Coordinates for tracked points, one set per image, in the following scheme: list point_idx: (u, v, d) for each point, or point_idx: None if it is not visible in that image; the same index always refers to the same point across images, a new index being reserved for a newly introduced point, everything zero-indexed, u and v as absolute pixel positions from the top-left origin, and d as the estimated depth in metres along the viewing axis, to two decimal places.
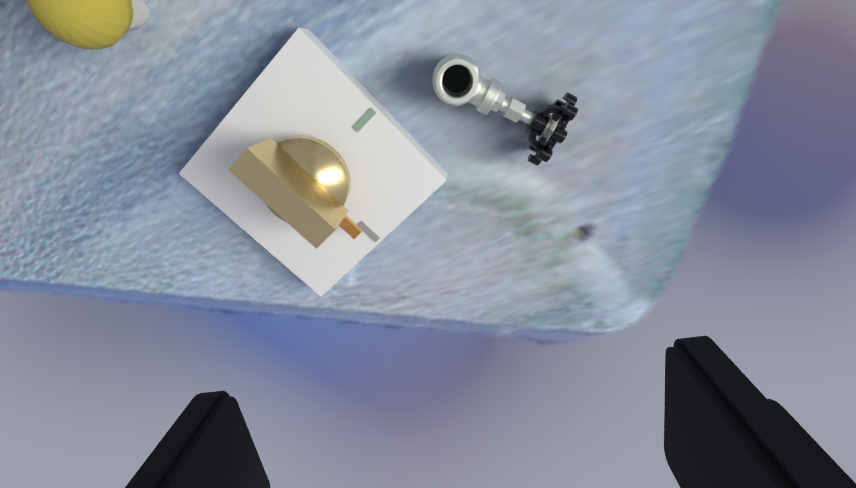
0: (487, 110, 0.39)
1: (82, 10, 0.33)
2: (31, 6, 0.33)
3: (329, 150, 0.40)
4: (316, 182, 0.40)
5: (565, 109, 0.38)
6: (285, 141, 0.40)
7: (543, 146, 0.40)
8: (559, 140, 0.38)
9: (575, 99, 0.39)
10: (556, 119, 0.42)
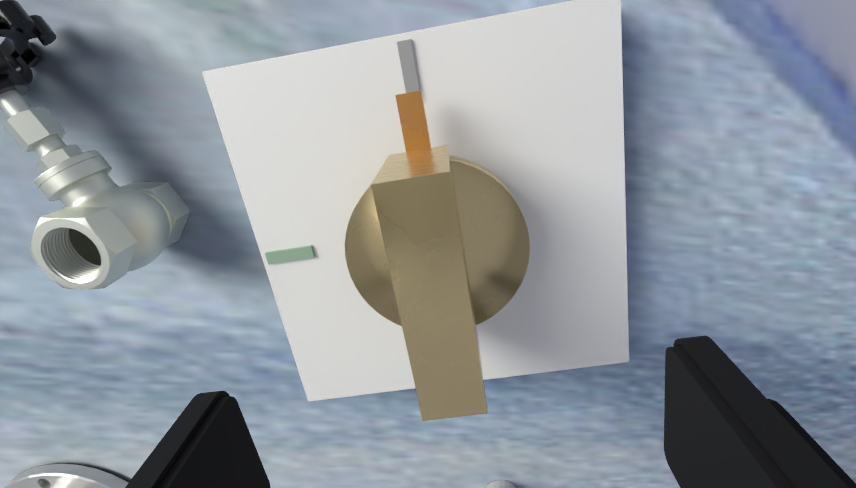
0: (67, 164, 0.21)
1: None
2: None
3: (349, 272, 0.21)
4: None
5: None
6: None
7: None
8: None
9: None
10: None
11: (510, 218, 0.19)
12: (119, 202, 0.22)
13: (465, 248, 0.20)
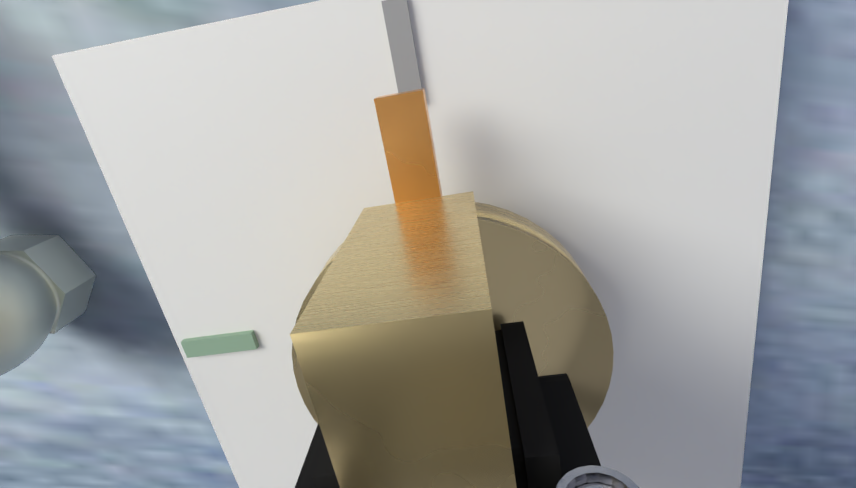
0: None
1: None
2: None
3: (301, 396, 0.12)
4: None
5: None
6: None
7: None
8: None
9: None
10: None
11: (582, 317, 0.11)
12: None
13: None
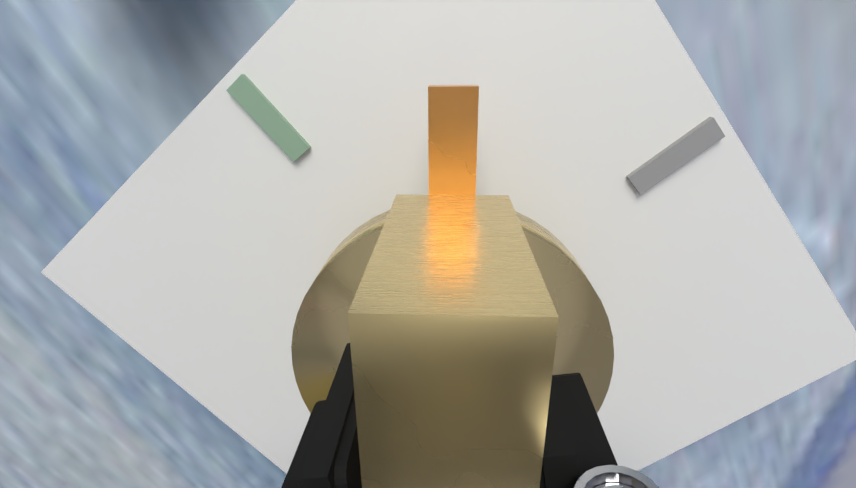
0: None
1: None
2: None
3: (294, 374, 0.12)
4: None
5: None
6: None
7: None
8: None
9: None
10: None
11: (589, 335, 0.11)
12: None
13: None
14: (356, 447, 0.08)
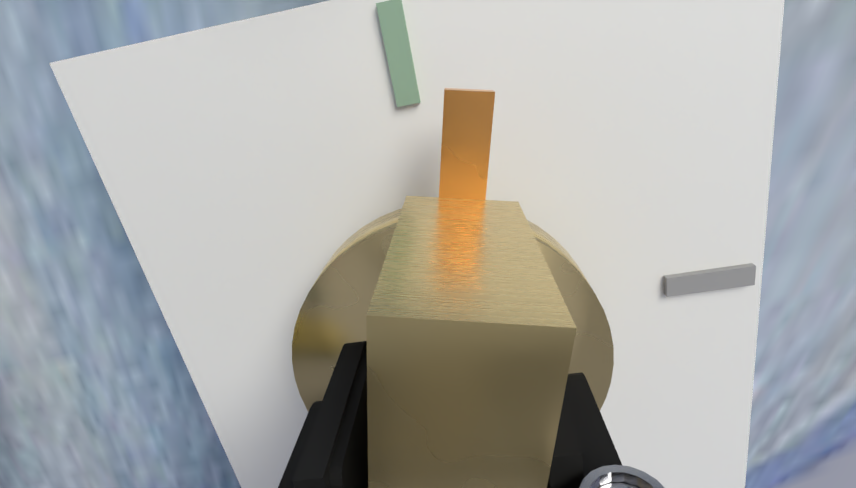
0: None
1: None
2: None
3: (293, 370, 0.12)
4: None
5: None
6: None
7: None
8: None
9: None
10: None
11: (590, 344, 0.11)
12: None
13: None
14: (352, 448, 0.08)
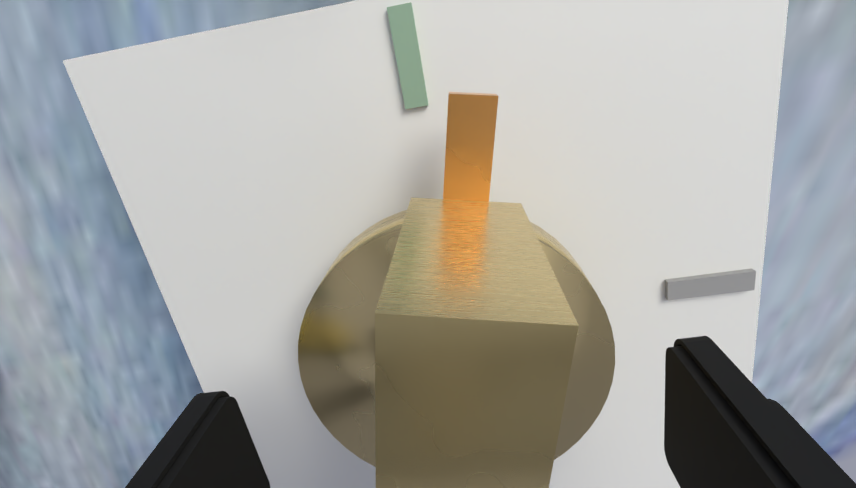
0: None
1: None
2: None
3: (299, 369, 0.12)
4: None
5: None
6: None
7: None
8: None
9: None
10: None
11: (592, 343, 0.11)
12: None
13: None
14: None
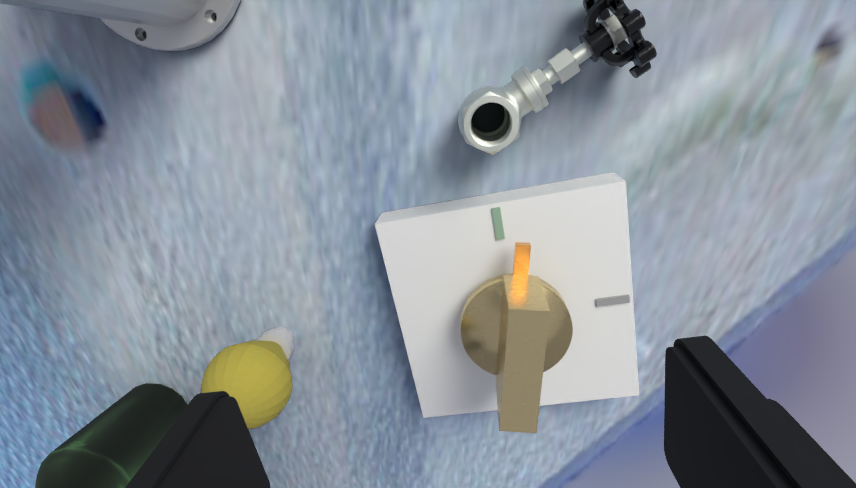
0: (544, 101, 0.29)
1: (252, 395, 0.33)
2: None
3: None
4: (500, 324, 0.33)
5: None
6: (487, 370, 0.35)
7: (632, 49, 0.28)
8: (640, 25, 0.26)
9: None
10: (607, 14, 0.30)
11: (564, 321, 0.33)
12: None
13: None
14: None
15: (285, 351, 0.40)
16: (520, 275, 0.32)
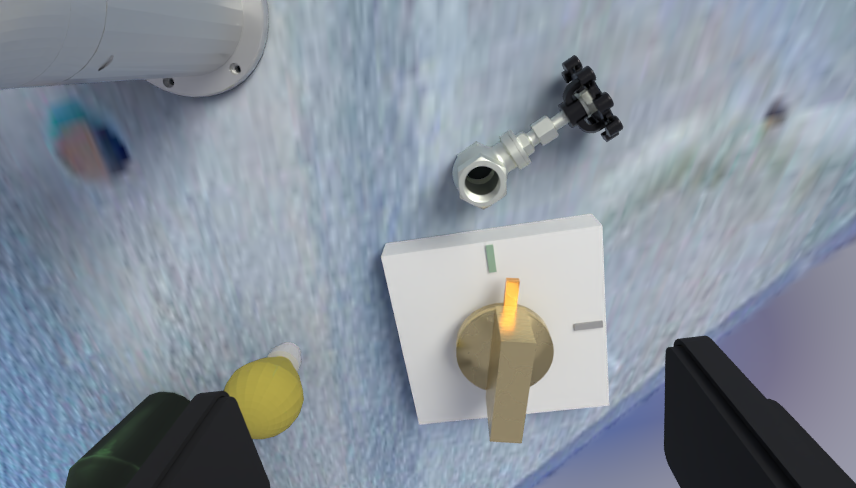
0: (527, 161, 0.34)
1: (271, 410, 0.37)
2: None
3: (456, 353, 0.39)
4: (491, 347, 0.38)
5: (580, 81, 0.30)
6: (479, 386, 0.40)
7: (603, 121, 0.32)
8: (609, 106, 0.30)
9: (575, 59, 0.32)
10: None
11: (546, 345, 0.38)
12: None
13: None
14: None
15: (294, 365, 0.44)
16: (510, 306, 0.37)
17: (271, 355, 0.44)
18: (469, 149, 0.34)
